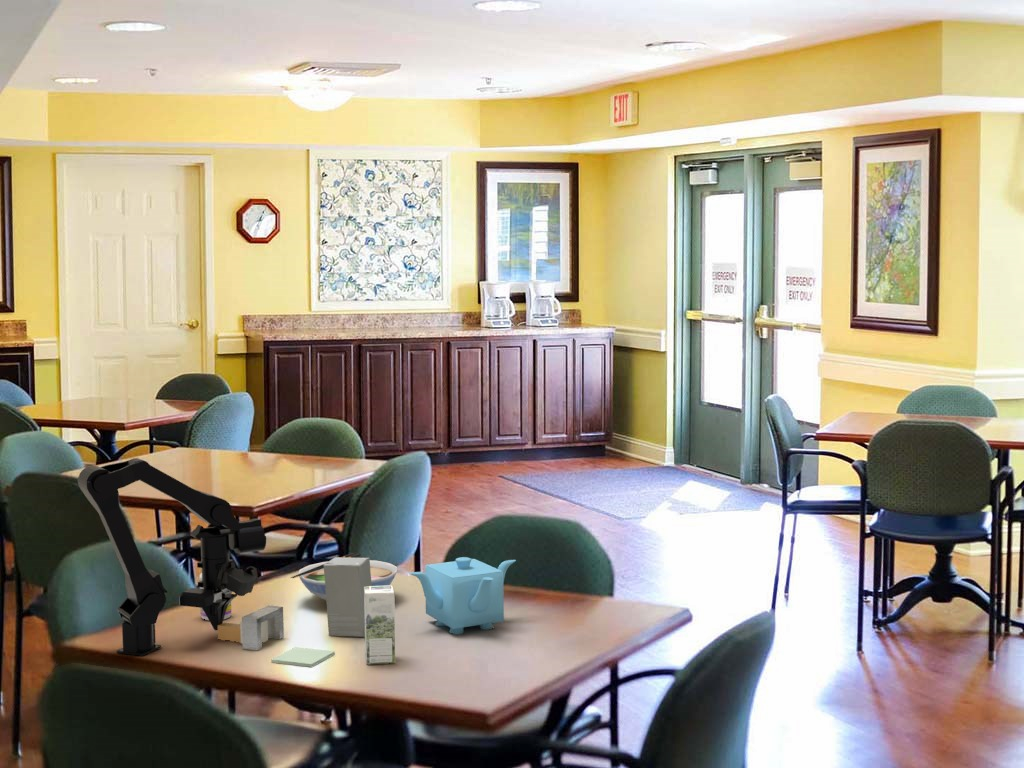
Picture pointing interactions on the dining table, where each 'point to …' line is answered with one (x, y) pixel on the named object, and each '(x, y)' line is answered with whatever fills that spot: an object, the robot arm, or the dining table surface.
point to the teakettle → (464, 593)
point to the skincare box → (346, 595)
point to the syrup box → (379, 624)
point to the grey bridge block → (253, 626)
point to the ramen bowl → (314, 573)
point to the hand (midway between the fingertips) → (217, 630)
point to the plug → (239, 632)
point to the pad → (303, 656)
